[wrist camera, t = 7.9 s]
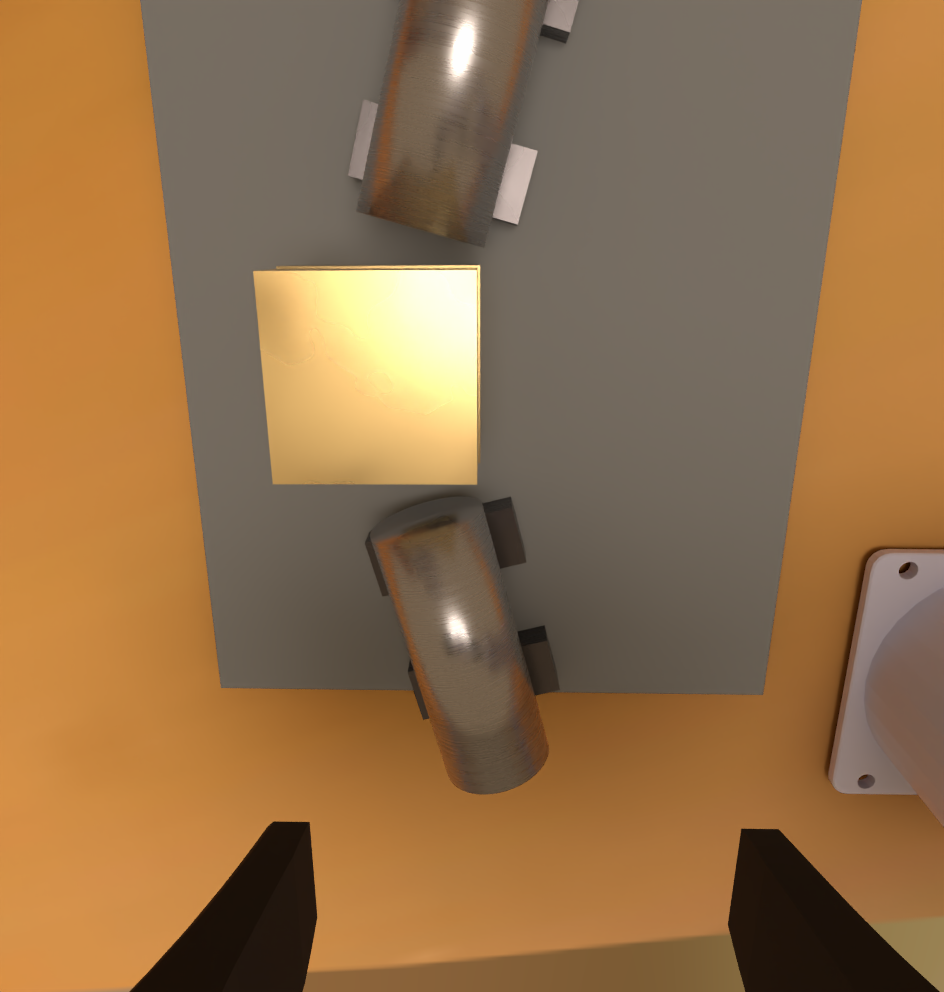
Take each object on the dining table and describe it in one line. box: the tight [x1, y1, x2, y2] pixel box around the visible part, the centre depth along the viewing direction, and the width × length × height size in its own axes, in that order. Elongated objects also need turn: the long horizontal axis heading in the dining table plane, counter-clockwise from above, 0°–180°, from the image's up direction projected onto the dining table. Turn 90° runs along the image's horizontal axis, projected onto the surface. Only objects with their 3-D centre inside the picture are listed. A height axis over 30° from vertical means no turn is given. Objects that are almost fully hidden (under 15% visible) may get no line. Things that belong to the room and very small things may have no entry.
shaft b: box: [365, 496, 560, 794], centre depth 20 cm, size 7×4×4 cm, turn 15°
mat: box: [140, 0, 862, 695], centre depth 19 cm, size 16×21×1 cm
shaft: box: [348, 0, 579, 248], centre depth 16 cm, size 7×4×4 cm, turn 165°
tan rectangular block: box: [253, 265, 481, 485], centre depth 17 cm, size 4×4×5 cm
